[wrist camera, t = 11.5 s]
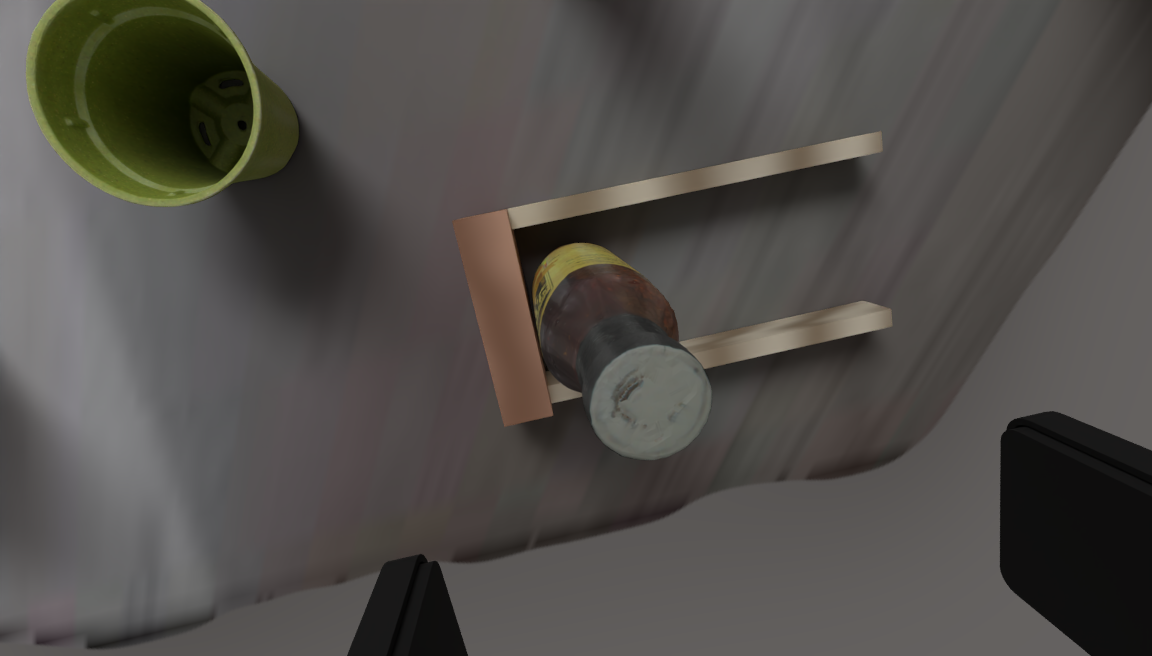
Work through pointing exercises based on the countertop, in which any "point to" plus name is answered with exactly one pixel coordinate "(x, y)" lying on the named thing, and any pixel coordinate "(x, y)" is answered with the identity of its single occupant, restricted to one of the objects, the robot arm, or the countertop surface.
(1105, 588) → the robot arm
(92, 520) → the countertop surface
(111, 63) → the plant pot
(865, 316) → the guide track
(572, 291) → the sauce bottle
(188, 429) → the countertop surface
